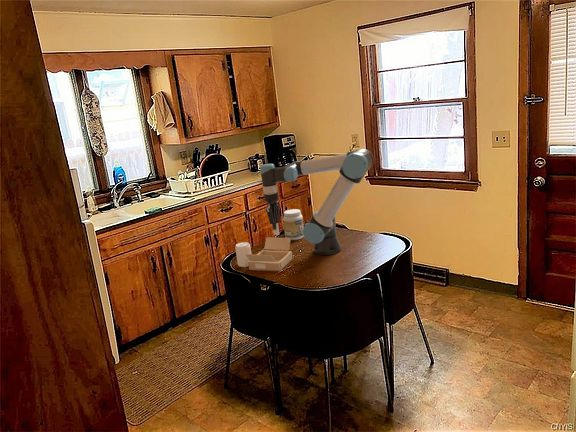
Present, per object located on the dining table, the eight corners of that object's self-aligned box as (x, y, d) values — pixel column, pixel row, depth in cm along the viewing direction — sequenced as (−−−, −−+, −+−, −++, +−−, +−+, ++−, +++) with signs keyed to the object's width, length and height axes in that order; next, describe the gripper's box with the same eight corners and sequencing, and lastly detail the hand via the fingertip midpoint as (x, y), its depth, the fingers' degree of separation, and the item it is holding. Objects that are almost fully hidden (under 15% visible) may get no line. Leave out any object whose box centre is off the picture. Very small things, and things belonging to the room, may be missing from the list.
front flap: (271, 255, 233) (271, 255, 232) (276, 261, 238) (276, 262, 238) (245, 254, 239) (245, 254, 239) (250, 260, 244) (250, 260, 244)
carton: (293, 259, 253) (292, 251, 252) (280, 271, 238) (279, 263, 237) (262, 257, 261) (261, 250, 260) (248, 269, 246) (247, 261, 245)
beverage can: (250, 267, 249) (247, 246, 245) (236, 268, 250) (233, 247, 247) (254, 261, 256) (251, 241, 253) (240, 262, 258) (237, 242, 255)
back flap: (266, 237, 260) (266, 237, 261) (264, 248, 258) (264, 249, 259) (290, 237, 254) (290, 238, 255) (288, 249, 252) (289, 250, 253)
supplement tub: (301, 240, 282) (298, 214, 277) (282, 240, 286) (279, 214, 282) (307, 234, 292) (304, 208, 288) (289, 234, 297) (286, 208, 292)
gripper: (269, 190, 256) (275, 230, 262) (259, 196, 244) (265, 238, 251) (282, 189, 253) (287, 230, 259) (271, 195, 241) (277, 238, 247)
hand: (276, 234), depth 255 cm, fingers closed
